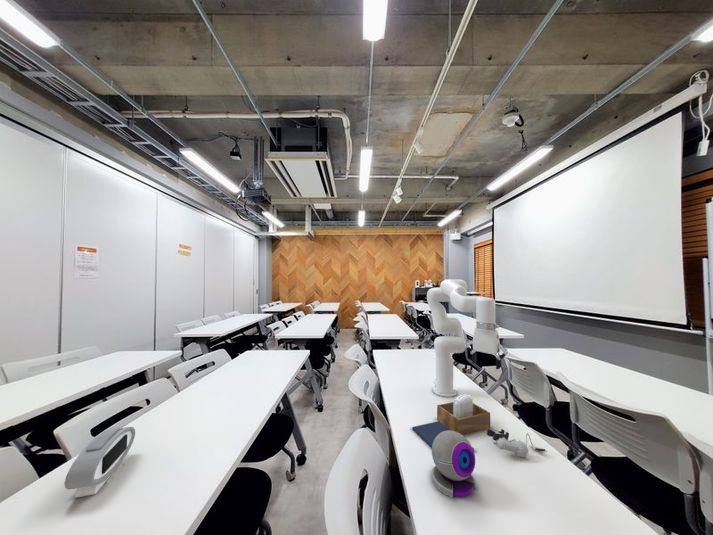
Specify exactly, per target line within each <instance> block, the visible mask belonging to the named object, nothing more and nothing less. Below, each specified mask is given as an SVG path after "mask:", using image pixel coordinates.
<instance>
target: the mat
mask: <svg viewBox="0 0 713 535" xmlns="http://www.w3.org/2000/svg"><path fill="white" fill-rule="evenodd" d="M411 430H412V431H414V433H415V434H416V435H418V437H419V438H420V439H421V440H422V441H424V443H426V444H427V446H428V447H430V448H431V449H432V445H433V441H434V439H435V438H436V436H437V435H438V434H440V433H441V432H443V431H448V430H449V431H451V430H450V429H449V428H447V427H446V426H445V425H444V424H442V423H441V422H440V421H438V420H437V421H433V422H429V423H424V424H420V425H419V424H418V425H416V426H412V429H411ZM472 448H473V451H474V452H475V448H474V447H473V446H472Z"/></svg>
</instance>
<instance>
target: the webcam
mask: <svg viewBox="0 0 713 535" xmlns="http://www.w3.org/2000/svg"><path fill="white" fill-rule="evenodd" d="M472 447H473V446H472V444H471V443H470V441H469V440H468V439H467V437H465V435H461V434H460V433H458V432H455V431H449V430H448V431H443V432H441V433H440V434H438V435H437V436H436V438H435V439H434V441H433V445H432V448H431V456H432V460H433V463H434V467H432V471H431V479H432V483H433V485H434V486H435V488H436V489H437V490H438V491H439V492H441V493H442V494H443V495H445V496H447V497H449V498H451V499H453V498H454V497H457V498H461V497H462V498H464V497H467V496H470V495H471V493H472V492H473V489H476V488H477V487H476V481H475V478H474V476H473V475H472V474H473V472H474V471H475V467H476V454H475V450H474V451H473V448H474V447H473V448H472Z"/></svg>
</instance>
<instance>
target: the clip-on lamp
mask: <svg viewBox="0 0 713 535" xmlns="http://www.w3.org/2000/svg"><path fill="white" fill-rule="evenodd" d="M486 436H488V437H491V440H492V444H493V445H496V444H497V446H498V448H499V449H500V450H504V451H506V452H511V453H513V454H515V455H516V456H518V457H519V458H526V457H527V456H528V454H529V448H528V439H529V442H530V445H531V447H532V448H533V449H534V450H535V451H537V452H538V453H539V452H541V453H543V452H544V453H545V452H548V450H547V449H545V448H539V447H538V448H537V447H534V445H533V441H532V439H531V436H530V434H529V433H526V434H525V442H526V443H525V442H524V441H522V440H519V439H511V440H509V436H510V433H509V432H507V431H506V432H505V429H500V430H496V429H491V428H489V429H486ZM494 441H495V442H494Z"/></svg>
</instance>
